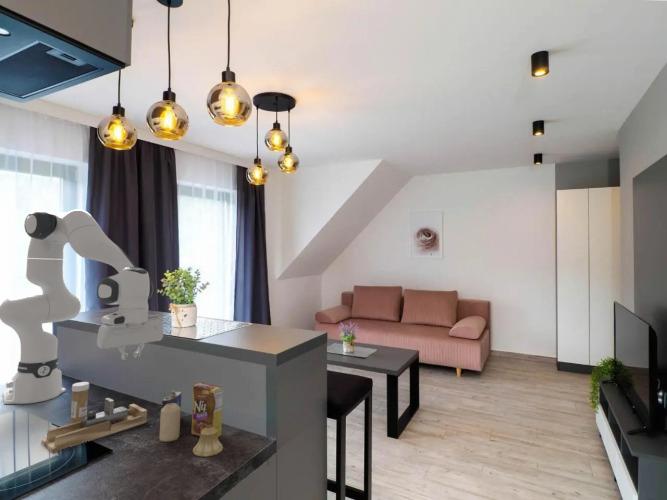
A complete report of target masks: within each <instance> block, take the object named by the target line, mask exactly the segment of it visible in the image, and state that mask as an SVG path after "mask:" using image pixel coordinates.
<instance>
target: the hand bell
mask: <svg viewBox="0 0 667 500" xmlns="http://www.w3.org/2000/svg"><path fill="white" fill-rule="evenodd" d="M214 410H215V397H214V393H209V396H208V399H207V402H206V411H207V423H206V428H205V429H203V430H202V431H201V434H200V436H199V438H198V442H197V444H196V445H195V446H194V447H193V449H192V454H193V455H195V456H198V457H203V458H204V457H205V458H206V457H213V456H215V455H218V454H219V453H221V452H222V451H223V449H224V447H223V444H222V443H221V442H220V441H219V437H217V430H216V429H215V428H213V427H212V424H213V413H214Z"/></svg>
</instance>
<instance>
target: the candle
mask: <svg viewBox="0 0 667 500" xmlns="http://www.w3.org/2000/svg"><path fill="white" fill-rule="evenodd" d="M180 410H181V411H182V407H181V408H180V407H179V406H178V405H177V404H176V403H171V404H166V405H165V406H164V407H163V408H162V407H161V409H160V421H159V423H160V424H159V425H160V426H159V441H160V442H167V443H168V442H173V441H176V440H177V439H179V438H180V430H181V429H180V426H181V418H180Z"/></svg>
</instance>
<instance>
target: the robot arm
mask: <svg viewBox="0 0 667 500" xmlns="http://www.w3.org/2000/svg"><path fill="white" fill-rule="evenodd" d="M24 220H25V221H24V226H23V227H24V230H25V233H26V234H27V235H28V236H29V237H30V241H29V245H28V248H27V249H28V250H27V258H26V273H25V277H26V279H27V280H28V282H29V283H31V284H33V285H35V286H37V287H40V289H41V290H42V294H31V295H19V296H14V297H9V298H6V299H5V300H4V301H2V303H1V304H0V321H1V322H2V323H3V324H5V325H6V326H8V327H9V328H11V329H12V330H14V331H15V332H16V334H17V336H18V338H19V341H20V361H19V362H18V364H17V370H16V371H17V372H16V373H15V374H14V376H12V378H11V380H10V381H7V382H6V383H5V384H6V390H3V392H2V397H3V403H4V405H14V404H15V405H18V404H19V405H23V404H24V405H26V404H34V403H40V402H46V401H49V400H52V399H55V398H57V397H59V396H60V394H63V393H65V392H66V390H67V389H66V388H65V387H63V384H62V382H63V381H62V378H63V376H62V371H61V370H60V369H58V367H59V358H58V345H59V340H58V337H57V336H56V335H55V334H53V333H51V332H49V331H45V330H44V328H43V324H49V323H50V324H51V323H59V322H65V321H68V320H69V321H70V320H72V319H74V318H77V316H79V313H80V311H81V308H82V304H81V301H80V299H79V298H78V297H77V295H75V294H73V293H72V292H71V291H70V290H69V289H68V288H67V286H66V283H65V281H64V274H63V273H64V272H63V271H64V270H63V266H64V265H63V264H64V260H63V259H64V248H65V245H67V244H68V243H69V245H70V247H71V249H72V250H73V251H74V252H75V253H76V254H77V255H78V256H80V257H81V258H83V259H88V260H92V261H97V262H101V263H104V264H107V265H109V266H112V267H113V268H114V269H115V270H116V271H117V272H118V273H116V274H114V275H111V276H107V277H104V278H103V279H101V280H100V282H98V286H97V288H96V289H97V291H96V294H97V298H98V299H99V301H100V303H103V304H104V305H110V306H112V305H114V306H115V305H119V306H118V310H117V311H114V312H112V313H111V312H110V313H108V314H106V315H104V316H102V317H101V323H102V324H101V325H100V326H99V328H98V332H97V337H96V346H97V347H98V348H99V349H102V350H107V349H113V348H114V349H115V348H117V349H118V351H119V352H120V354H121V356H120V358H121V360H122V361H123V360H124V361H125V360H129V353H127V352H126V351H125V350H126V349H127V348H126V347H128V346H133V345H134V346H135V345H137V346H138V347H137V348H136V351H133V358H136V359H137V358H141V353H142V351H143V349H144V348H145V347H146V346H145V344H147V343H153V342H159V341H162V340H163V338H164V328H163V327H164V326H163V324H164V317H163V316H162V315H160V313H155V314H149V302H148V301H149V300H150V299H151V298H152V296H153V293H154V284H153V282H152V280H151V279H150V275H149V272H148V271H147V270H146V269H144V268H143V267H142V268H141V267H137V265H136V264H135V263H134V262H133V260H132V259H131V258H130V257H129V255H127V253H126V252H125V251H124V250H123V248H121V247H120V246H119V245H117V243H114V242H113V240H111V238H109V237H108V236H107V235H106V233H105V232H104V231H103V230H102V228H101V226H100V224H98V222H97V221H96V220H95V219H94V217H93V216H92V215H91V213H89V212H88V211H86V210H83V209H73V210H70V211H68V212H63V211H61V212H58V211H46V210H35V211H31V212H30V213H29V214H28V215H27V216H26V217H25V219H24Z"/></svg>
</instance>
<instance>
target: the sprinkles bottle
mask: <svg viewBox="0 0 667 500" xmlns="http://www.w3.org/2000/svg"><path fill="white" fill-rule="evenodd" d="M89 390H90V383H89V382H88V381H80V382H75V383H73V384H72V386H71V391H72V392H71V393H72V394H71V395H72V396H71V404H70V406H71V408H70V424H72V423H75V422H79V421H81V418H82V417H85V416H87V412H88V406H89V405H88V404H89V402H88V401H89V399H88V396H89Z"/></svg>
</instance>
